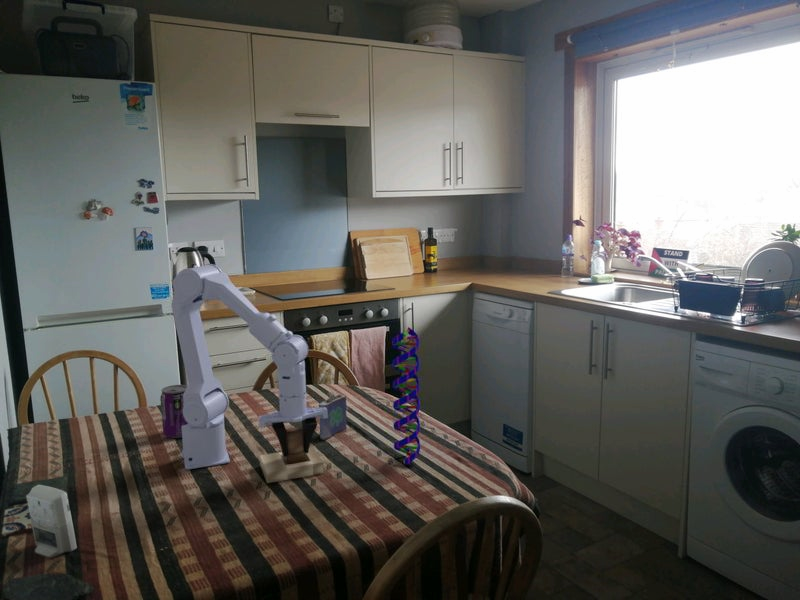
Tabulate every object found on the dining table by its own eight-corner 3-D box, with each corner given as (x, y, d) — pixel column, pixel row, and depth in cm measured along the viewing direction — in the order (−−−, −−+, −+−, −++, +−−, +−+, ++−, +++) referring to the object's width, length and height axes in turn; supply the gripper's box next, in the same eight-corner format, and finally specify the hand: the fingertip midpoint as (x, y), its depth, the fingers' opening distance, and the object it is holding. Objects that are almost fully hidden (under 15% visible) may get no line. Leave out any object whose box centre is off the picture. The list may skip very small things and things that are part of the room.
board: (267, 483, 132) (266, 471, 132) (260, 466, 141) (259, 455, 140) (323, 473, 137) (323, 462, 136) (313, 457, 145) (313, 446, 145)
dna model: (418, 467, 139) (416, 332, 134) (391, 465, 140) (389, 332, 135) (422, 455, 145) (421, 326, 140) (397, 454, 146) (394, 326, 141)
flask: (325, 441, 154) (324, 398, 152) (316, 438, 156) (314, 396, 154) (349, 429, 162) (348, 388, 160) (340, 426, 163) (339, 386, 162)
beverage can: (187, 439, 156) (184, 392, 154) (158, 439, 156) (154, 393, 154) (197, 429, 163) (193, 384, 161) (169, 429, 163) (166, 384, 161)
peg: (288, 466, 136) (285, 435, 135) (284, 459, 140) (281, 429, 139) (307, 462, 138) (304, 431, 137) (302, 456, 142) (300, 426, 140)
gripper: (261, 403, 130) (264, 466, 132) (330, 394, 135) (332, 454, 137) (255, 393, 136) (259, 453, 139) (322, 385, 141) (324, 442, 144)
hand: (295, 453), depth 138 cm, fingers closed on peg, 4 cm apart
